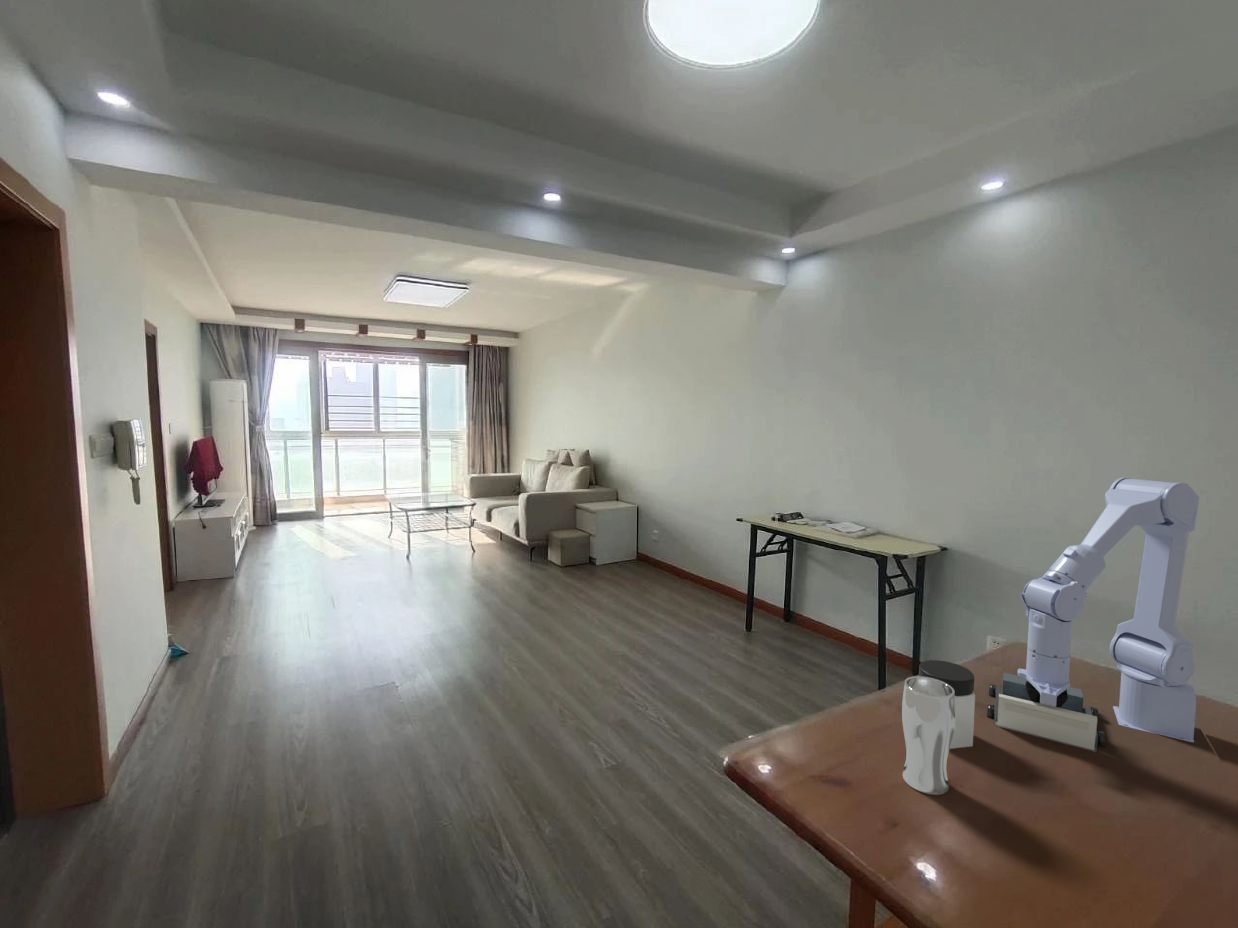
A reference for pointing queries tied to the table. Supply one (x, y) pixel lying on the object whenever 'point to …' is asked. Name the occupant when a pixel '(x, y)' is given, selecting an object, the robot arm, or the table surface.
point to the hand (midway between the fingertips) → (1043, 728)
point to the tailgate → (1047, 722)
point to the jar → (956, 696)
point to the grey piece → (1017, 689)
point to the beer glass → (927, 732)
